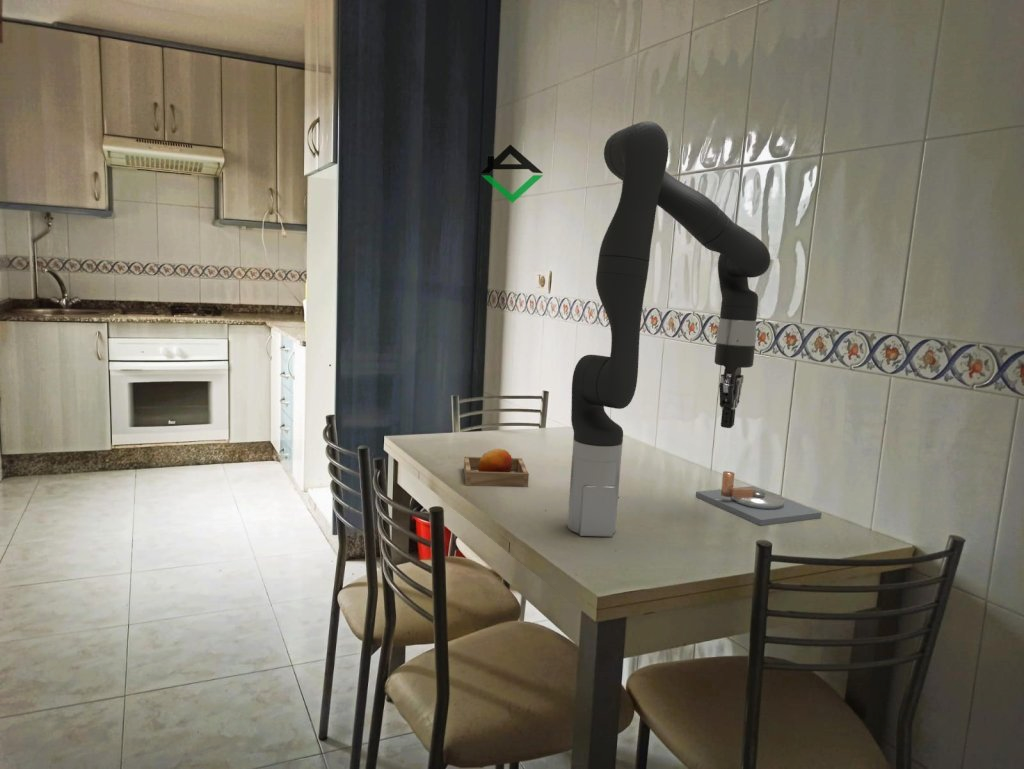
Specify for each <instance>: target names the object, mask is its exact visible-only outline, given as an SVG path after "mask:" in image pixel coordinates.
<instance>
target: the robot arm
mask: <svg viewBox="0 0 1024 769" xmlns="http://www.w3.org/2000/svg"><path fill="white" fill-rule="evenodd" d="M668 140H669V139H668V136H667V134H666V132H665V130H664V129H663V127H662V126H660V124H658V123H657V122H654V121H650V120H649V121H647V120H646V121H641V122H638V123H635V124H632V125H629V126H627V127H625V128H623V129H621V130H618V131H616V132H614V133H613V134H611V135H610V137H609V138H608V139H607V140H606V142H605V146H604V148H603V159H604V162H605V164H606V167H607V169H608V170H609V171H610V172H611V173H612V174H613V175H614V176H615V177H617V178H618V179H619V180H621V181H622V184H621V185H622V187H621V194H620V198H619V200H618V205H617V208H616V210H615V212H614V214H613V217H612V218H611V221H610V223H609V225H608V227H607V229H606V232H605V234H604V236H603V239H602V241H601V244H600V246H599V252H598V260H597V261H598V262H597V267H596V268H597V269H596V275H595V276H596V277H595V285H596V291H597V293H598V297H599V299H600V302H601V304H602V306H603V309H604V311H605V314H606V316H607V320H608V322H609V327H610V335H611V345H610V356H606V355H599V354H586V355H584V356H582V357H580V358H579V360H578V361H577V363H576V365H575V368H574V370H573V374H572V381H571V409H570V410H571V411H570V412H571V416H570V417H571V418H570V420H571V422H570V423H571V426H572V430H573V438H572V439H573V440H572V441H573V443H572V454H571V469H570V483H569V496H568V498H569V499H568V511H567V512H568V515H567V528H568V530H570V531H572V532H574V533H576V534H578V535H579V536H581V537H613V534H615V532H616V530H617V517H618V506H619V505H618V502H619V492H620V490H619V489H620V476H621V467H622V466H621V465H622V454H623V442H624V440H623V439H624V430H623V428H622V426H620V425H619V424H618V423H617V422H615V421H614V420H613V419H612V418H611V417H610V416H609V415H608V414H607V412H606V410H605V408H609V409H610V408H612V409H615V410H617V409H618V410H621V409H625V408H626V407H628V406H629V405H630V404H631V402H632V400H633V398H634V395H635V393H636V390H637V389H636V388H637V384H638V375H639V359H640V357H639V356H640V353H639V352H640V336H641V334H640V332H641V322H642V313H643V305H644V301H645V300H644V297H645V292H646V286H647V282H648V273H649V268H650V259H651V248H652V241H653V234H654V228H655V220H656V212H657V207H658V206H659V207H660V208H661V209H662V210H663V211H664V212H665V213H667V214H668V215H670V216H671V217H672V218H673V219H674V220H675V221H676V222H677V223H679V225H681V226H682V227H683V228H684V229H685V230H686V231H687V232H688V233H689V234H690V235H691V236H692V237H693V238H695V240H697V241H698V242H699V243H700V245H702V246H703V247H704V248H705V249H707V250H709V251H711V252H715V253H718V254H719V256H718V260H717V274H718V281H719V289H720V295H721V303H720V314H719V322H718V324H717V325H718V327H717V332H716V343H715V352H714V364H716V365H718V366H723V367H724V371H723V374H720V381H719V385H718V388H719V407H720V408H721V409H722V410H721V419H720V426H721V428H725V429H732V428H733V426H734V425H735V418H736V409H737V408H738V405H739V403H740V398H741V396H742V395H741V394H742V387H743V383H744V377H745V375H744V374H742V369H743V368H747V369H748V368H752V367H753V366H754V360H755V358H754V357H755V349H756V339H757V320H758V318H757V317H758V308H759V295H758V294H757V292H755V291H753V290H751V289H750V286H749V279H748V278H750V279H751V278H757V277H760V276H762V275H764V274H765V273H767V271H768V269H769V268H770V265H771V254H770V251H769V248H767V245H766V244H765V243H764V242H763V241H762V240H761V239H760V238H758V237H757V236H756V235H754V234H753V233H751V232H750V231H748V230H747V229H745V228H744V227H742V226H740V225H739V224H736V223H735V222H734V221H733V220H732V219H731V218H730V217H729V215H727V213H725V212H724V211H723V210H722V209H721V208H720V207H719V206H718V205H717V204H716V203H715V202H714V201H712V200H711V199H710V198H709V197H707V196H706V195H705V194H703V193H701V192H700V191H698V190H696V189H695V188H692V187H690V186H689V185H687V184H685V183H684V182H682V181H680V180H678V179H676V178H675V177H674V176H673V175H671V174H670V173H669V172H667V171H666V168H667V163H668V159H669V141H668Z"/></svg>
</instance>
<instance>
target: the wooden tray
mask: <svg viewBox="0 0 1024 769" xmlns="http://www.w3.org/2000/svg"><path fill="white" fill-rule="evenodd" d="M481 457H482V456H464V457H463V458H464V459H463V460H464V461H463V473H464V480H465V481H464V482H465V486H478V487H479V486H480V487H481V486H482V487H483V486H485V487H512V488H513V487H516V488H517V487H520V488H524V487H525V488H529V477H530V476H529V474H530V473H529V471H528V469H527V467H526V465H525V462H524V460H523V458H520V457H519V458H518V457H515V458H513V457H512V468H511V471H510V472H480V471H478V464H479V461H480V459H481Z"/></svg>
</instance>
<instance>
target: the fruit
mask: <svg viewBox="0 0 1024 769" xmlns="http://www.w3.org/2000/svg"><path fill="white" fill-rule="evenodd" d="M480 457H481V459H480V461H479V464H478V470H477V471H480V472H512V471H511V468H512V458H513V457H512V455H511V454H510V453H509V452H508V451H507V450H505V449H501V448H495V449H494V448H493V449H492V450H488V451H487V452H484V453H483V454H482V456H480Z"/></svg>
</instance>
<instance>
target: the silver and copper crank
mask: <svg viewBox="0 0 1024 769" xmlns="http://www.w3.org/2000/svg"><path fill="white" fill-rule="evenodd" d="M721 479H722V481H721V495H722V496H725V497H731V499H732V501H734V502H736V503H738V504H740V505H743V506H747V507H752V508H758V509H779V508H782V507H783V506H784V498H785V497H784V496H782V495H779V494H777V493H774V492H771V491H768V490H765V491H764V489H762V490H758V489H753V488H739V487H734V484H735V472H732V471H728V470H727V471H724V470H723V472H722V478H721Z"/></svg>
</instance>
